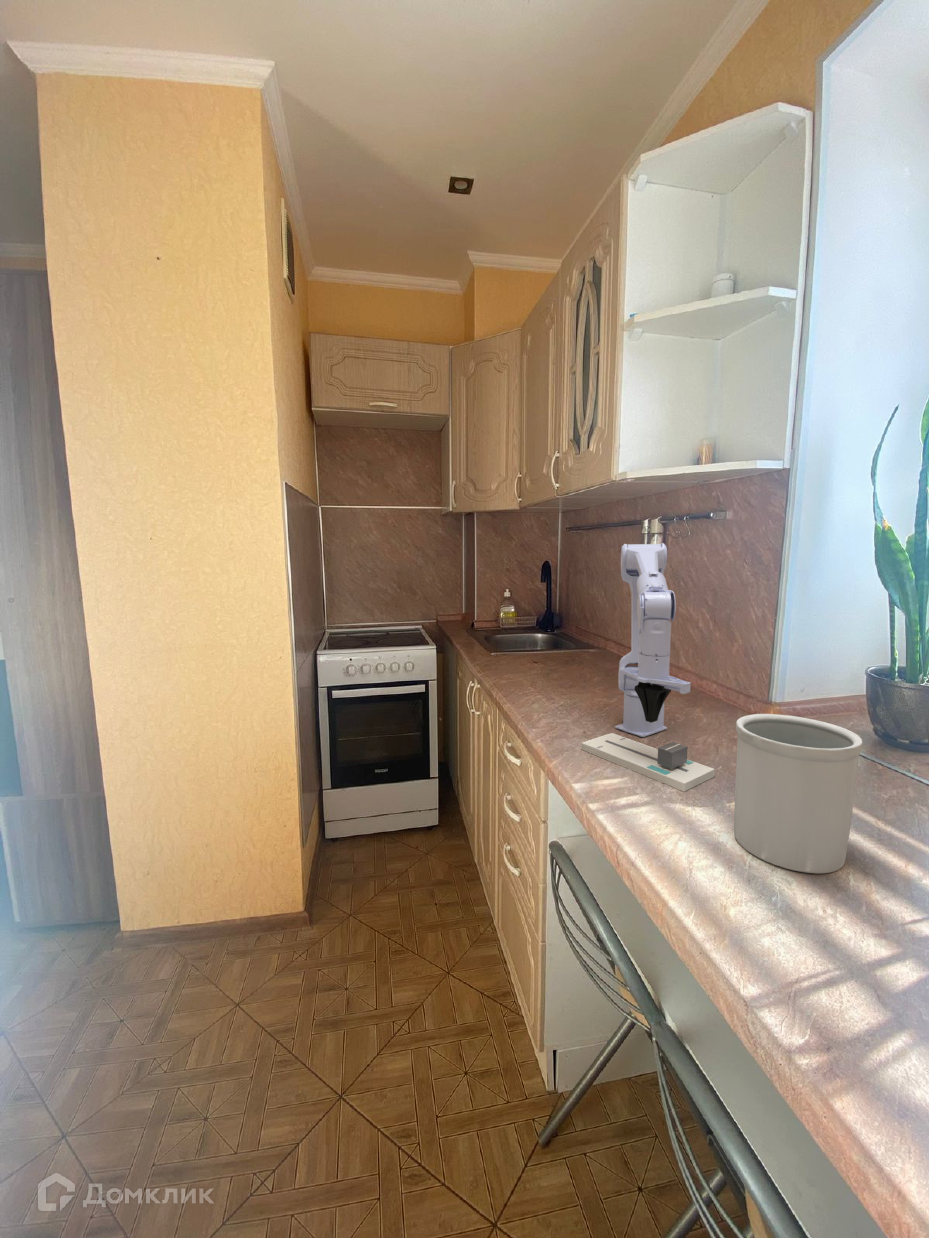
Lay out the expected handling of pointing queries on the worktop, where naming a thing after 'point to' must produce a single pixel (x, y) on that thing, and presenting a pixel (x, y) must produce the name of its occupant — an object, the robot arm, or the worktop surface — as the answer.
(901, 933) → the worktop surface
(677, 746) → the fader
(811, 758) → the utensil holder
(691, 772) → the mixer panel
